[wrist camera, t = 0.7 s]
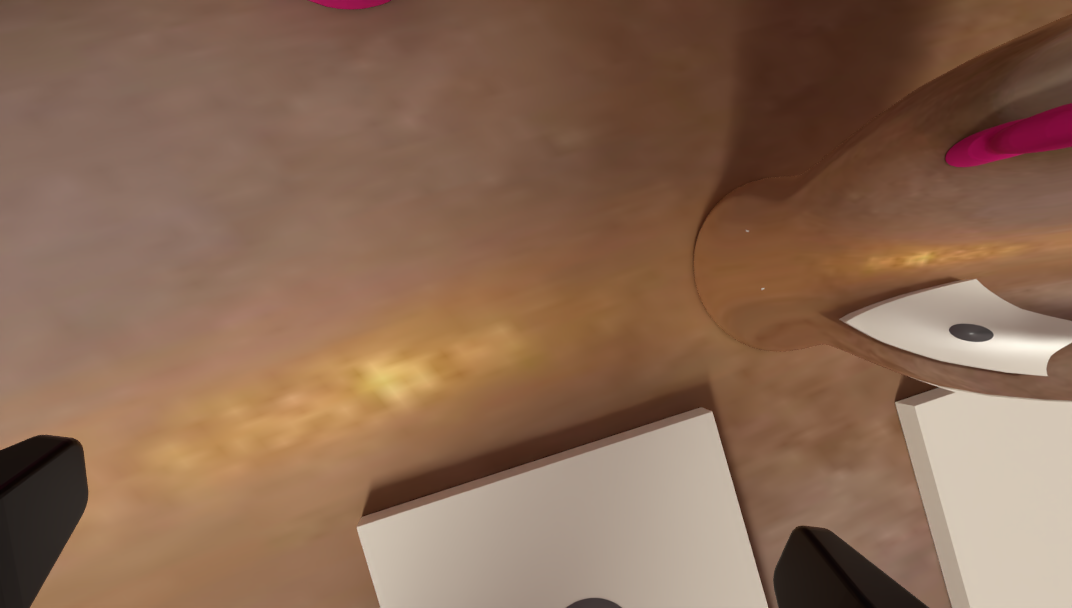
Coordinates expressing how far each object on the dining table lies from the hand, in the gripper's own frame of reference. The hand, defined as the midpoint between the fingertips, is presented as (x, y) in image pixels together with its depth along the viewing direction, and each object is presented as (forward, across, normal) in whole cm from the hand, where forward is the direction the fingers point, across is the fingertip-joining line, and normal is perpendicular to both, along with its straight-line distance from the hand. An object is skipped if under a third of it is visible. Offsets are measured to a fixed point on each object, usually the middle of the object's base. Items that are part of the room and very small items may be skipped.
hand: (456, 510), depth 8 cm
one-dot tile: (+9, -6, +12) cm, 16 cm away
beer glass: (+15, -10, +1) cm, 18 cm away
